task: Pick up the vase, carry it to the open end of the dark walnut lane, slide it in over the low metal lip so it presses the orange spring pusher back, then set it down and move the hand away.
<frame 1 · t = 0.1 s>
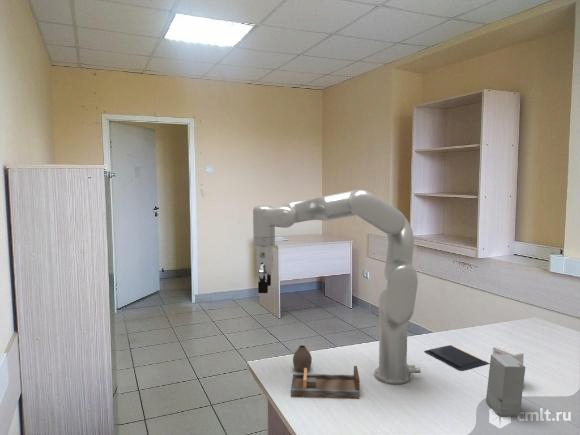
hand: (264, 289, 153), 31 cm above the table, tool pointing down, fingers open, 9 cm apart
lane: (324, 388, 145), on the table
vase: (302, 369, 159), on the table
ink box: (506, 383, 148), on the table
pusher: (309, 379, 145), point 3 cm above the table, slide at 0.0 cm
wallet: (455, 359, 168), on the table
skincare box: (504, 409, 131), on the table
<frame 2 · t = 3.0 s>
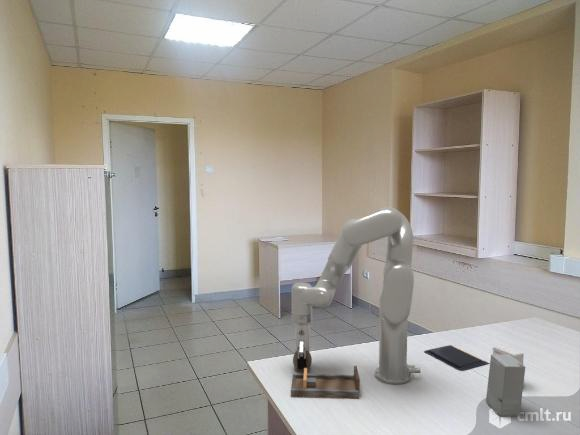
hand: (302, 364, 159), 2 cm above the table, tool pointing down, fingers closed on vase, 6 cm apart
vase: (302, 369, 159), on the table, touching gripper
everything else where it was.
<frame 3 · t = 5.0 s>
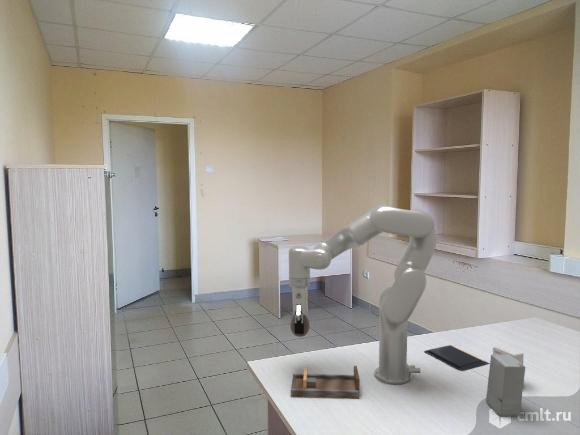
hand: (299, 329, 156), 16 cm above the table, tool pointing down, fingers closed on vase, 6 cm apart
vase: (300, 335, 156), point 13 cm above the table, touching gripper
everything else where it was.
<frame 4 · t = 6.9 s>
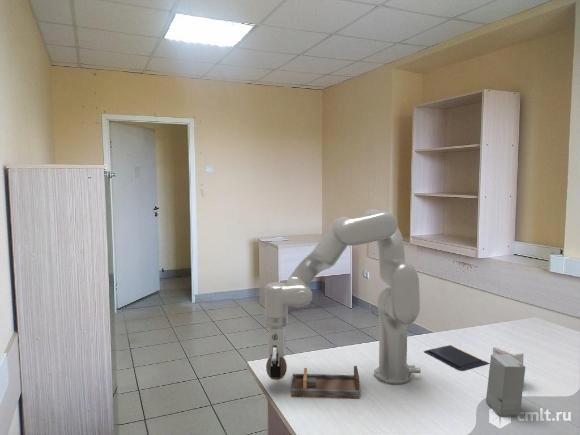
hand: (276, 371, 145), 6 cm above the table, tool pointing down, fingers closed on vase, 6 cm apart
vase: (276, 377, 145), point 3 cm above the table, touching gripper
everything else where it was.
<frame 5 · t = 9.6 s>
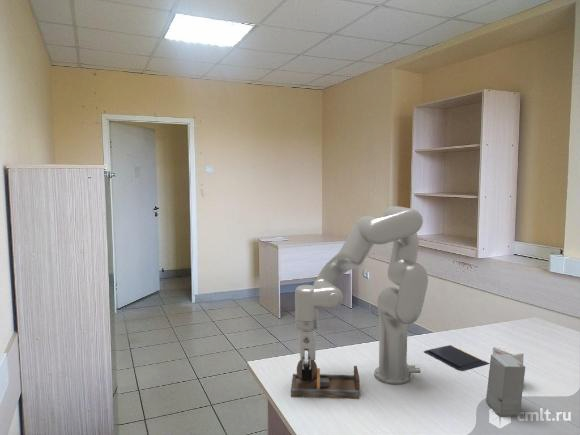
hand: (307, 374, 145), 5 cm above the table, tool pointing down, fingers closed on vase, 6 cm apart
vase: (307, 380, 145), point 3 cm above the table, touching gripper, pusher
pusher: (322, 379, 144), point 3 cm above the table, slide at 4.4 cm, touching vase
everything else where it was.
when the fingers open (4 cm above the table, at t = 10.7 s): vase drops 1 cm, resting on lane, pusher.
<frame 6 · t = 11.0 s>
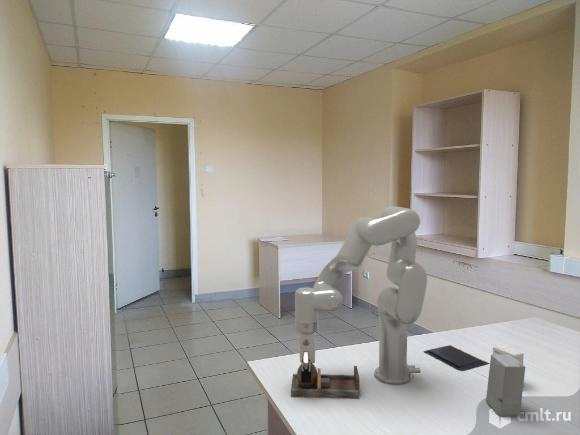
hand: (306, 375, 145), 4 cm above the table, tool pointing down, fingers open, 9 cm apart
vase: (307, 385, 145), point 1 cm above the table, touching lane, pusher
everything else where it was.
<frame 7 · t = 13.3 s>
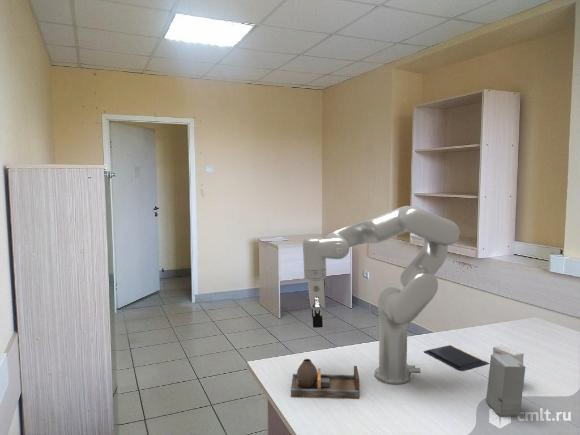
hand: (317, 322, 149), 21 cm above the table, tool pointing down, fingers open, 9 cm apart
vase: (307, 385, 145), point 1 cm above the table, touching lane
pusher: (323, 379, 144), point 3 cm above the table, slide at 4.6 cm
everything else where it was.
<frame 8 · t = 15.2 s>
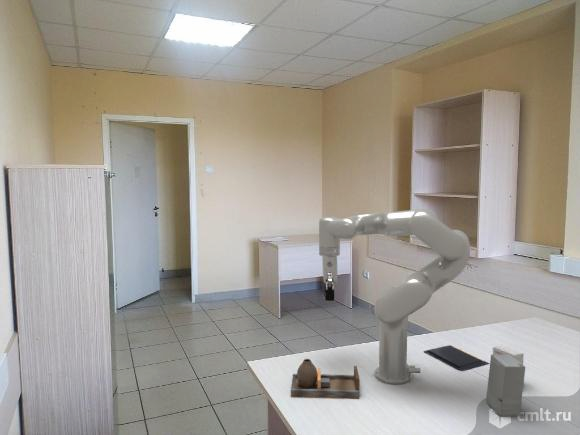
hand: (329, 296, 160), 26 cm above the table, tool pointing down, fingers open, 9 cm apart
vase: (307, 385, 145), point 1 cm above the table, touching lane, pusher
pusher: (323, 379, 144), point 3 cm above the table, slide at 4.6 cm, touching vase
everything else where it was.
at the end: vase 0.0 cm from the target spot on the lane, point 0.8 cm above the lane's base; pusher slide at 4.6 cm; vase tilted 0° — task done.
